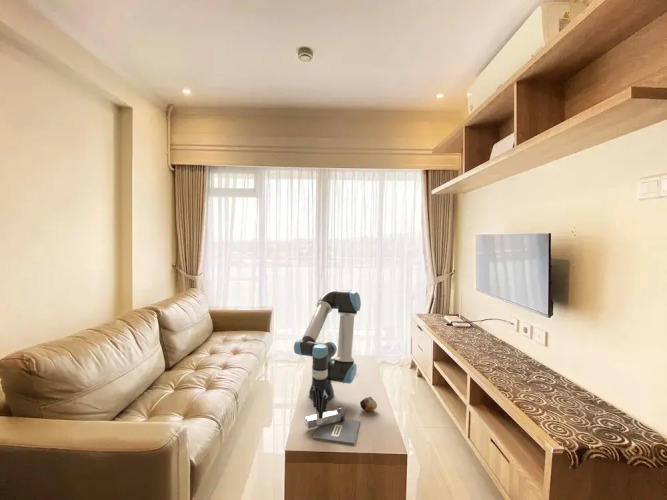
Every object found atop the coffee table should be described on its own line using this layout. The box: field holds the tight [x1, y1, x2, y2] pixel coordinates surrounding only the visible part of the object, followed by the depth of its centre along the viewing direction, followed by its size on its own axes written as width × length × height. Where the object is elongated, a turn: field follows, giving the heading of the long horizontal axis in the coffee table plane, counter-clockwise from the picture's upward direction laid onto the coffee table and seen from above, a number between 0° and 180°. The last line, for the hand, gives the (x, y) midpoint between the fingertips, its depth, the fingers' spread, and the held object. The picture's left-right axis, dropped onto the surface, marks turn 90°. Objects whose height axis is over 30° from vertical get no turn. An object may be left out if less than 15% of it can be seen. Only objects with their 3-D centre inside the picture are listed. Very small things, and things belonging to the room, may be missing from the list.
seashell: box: [359, 396, 378, 412], centre depth 191 cm, size 10×6×8 cm, turn 87°
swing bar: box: [304, 405, 346, 430], centre depth 175 cm, size 21×4×6 cm, turn 116°
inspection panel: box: [312, 418, 361, 446], centre depth 171 cm, size 20×20×1 cm
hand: (319, 423), depth 170 cm, fingers closed
